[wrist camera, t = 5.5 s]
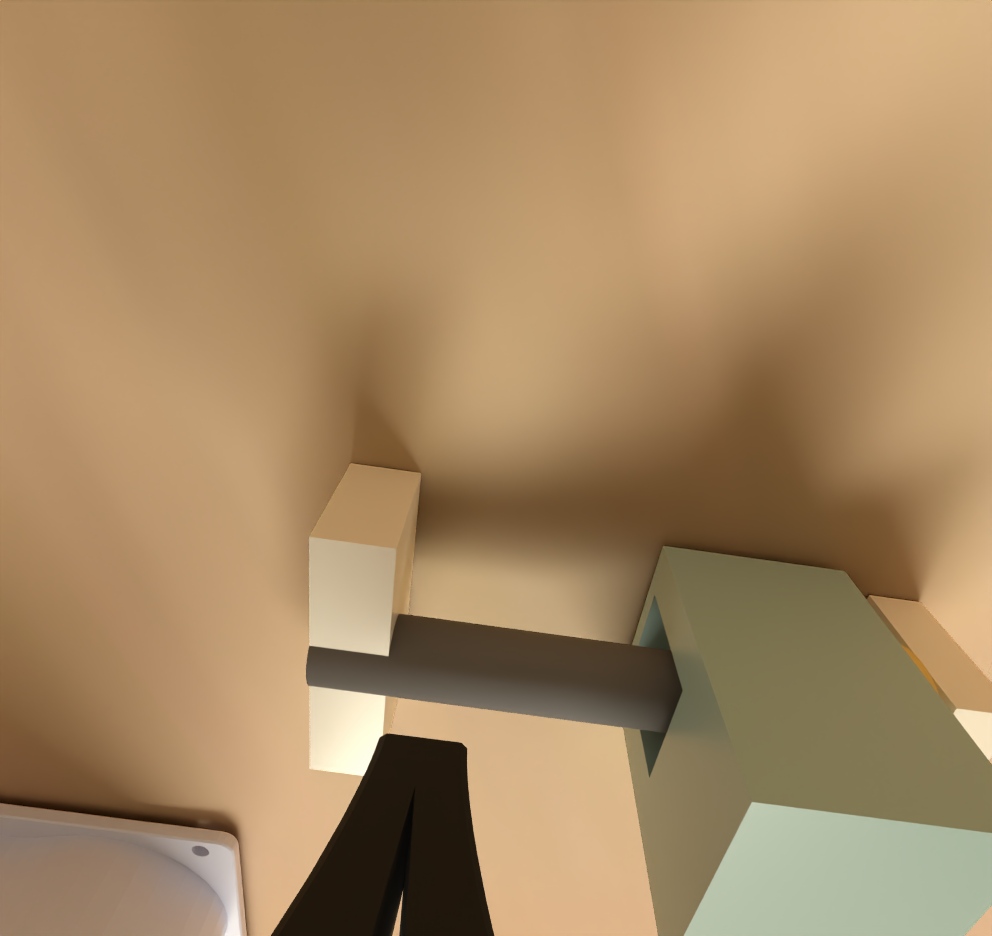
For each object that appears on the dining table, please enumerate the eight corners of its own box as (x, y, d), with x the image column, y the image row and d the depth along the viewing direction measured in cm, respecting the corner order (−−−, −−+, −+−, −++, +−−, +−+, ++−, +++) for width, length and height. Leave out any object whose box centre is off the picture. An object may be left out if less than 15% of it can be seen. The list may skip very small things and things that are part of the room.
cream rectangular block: (344, 671, 16) (309, 769, 13) (350, 463, 13) (309, 536, 11) (402, 678, 16) (379, 777, 13) (421, 472, 13) (396, 548, 11)
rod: (338, 647, 15) (292, 766, 12) (341, 534, 13) (290, 640, 10) (877, 719, 15) (961, 853, 12) (938, 616, 13) (1049, 741, 11)
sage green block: (617, 691, 15) (664, 973, 10) (663, 545, 13) (751, 801, 8) (775, 712, 15) (903, 1002, 10) (844, 570, 13) (1049, 841, 8)
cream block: (819, 689, 15) (886, 812, 12) (868, 595, 14) (956, 708, 11) (867, 696, 15) (944, 820, 13) (920, 602, 14) (1021, 716, 11)
